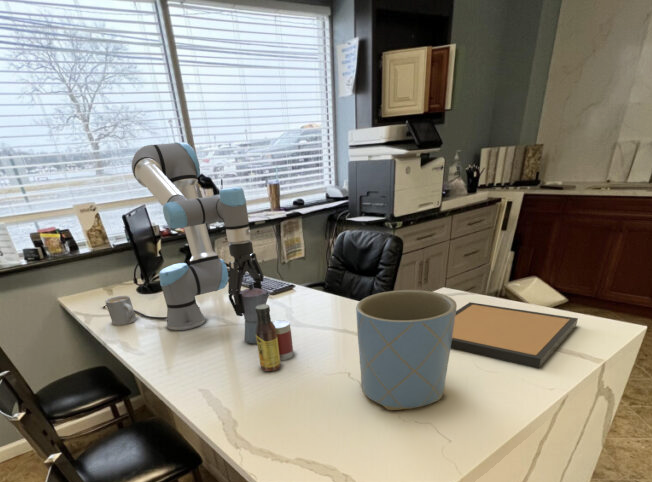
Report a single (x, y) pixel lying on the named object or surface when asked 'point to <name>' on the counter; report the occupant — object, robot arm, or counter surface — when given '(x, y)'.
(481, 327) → the framed cork board
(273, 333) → the sauce bottle
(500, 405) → the counter surface
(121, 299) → the coffee mug
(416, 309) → the planter
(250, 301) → the moka pot
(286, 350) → the tin can
